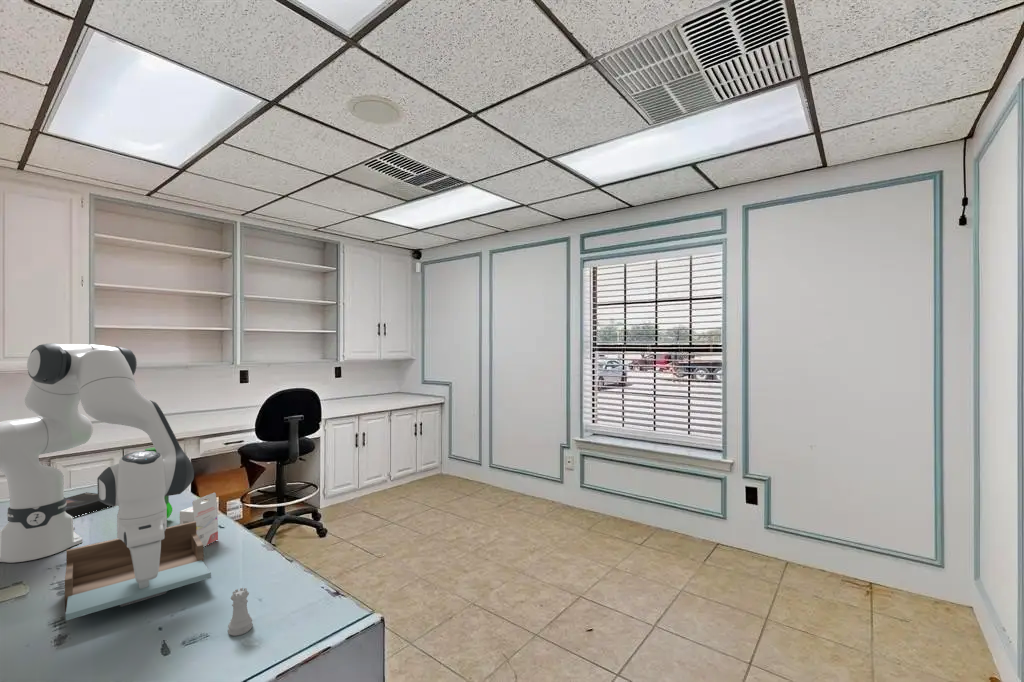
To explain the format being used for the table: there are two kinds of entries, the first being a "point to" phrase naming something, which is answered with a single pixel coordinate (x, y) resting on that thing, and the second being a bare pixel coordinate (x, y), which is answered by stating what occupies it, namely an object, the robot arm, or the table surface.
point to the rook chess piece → (240, 614)
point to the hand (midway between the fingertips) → (143, 586)
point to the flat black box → (83, 504)
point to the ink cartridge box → (203, 518)
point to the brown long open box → (126, 559)
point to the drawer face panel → (134, 590)
